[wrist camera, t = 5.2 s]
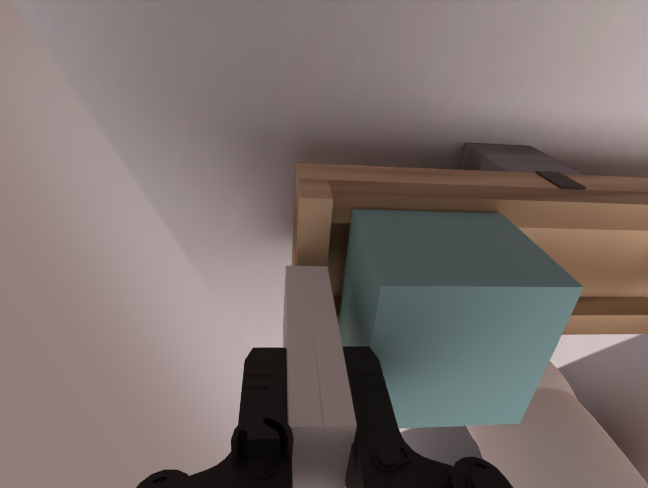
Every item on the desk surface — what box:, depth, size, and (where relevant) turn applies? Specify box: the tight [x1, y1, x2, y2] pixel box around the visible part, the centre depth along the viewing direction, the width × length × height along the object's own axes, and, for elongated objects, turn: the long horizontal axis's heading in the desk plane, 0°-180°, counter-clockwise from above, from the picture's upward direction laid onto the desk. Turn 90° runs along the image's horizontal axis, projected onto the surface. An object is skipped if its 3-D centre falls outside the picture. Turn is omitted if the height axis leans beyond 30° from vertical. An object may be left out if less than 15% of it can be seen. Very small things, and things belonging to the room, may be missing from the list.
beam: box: [292, 143, 648, 335], centre depth 21 cm, size 7×24×12 cm, turn 86°
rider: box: [338, 209, 584, 428], centre depth 16 cm, size 6×6×6 cm
